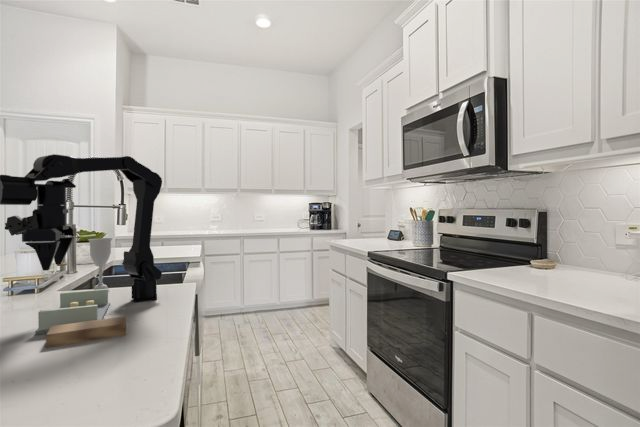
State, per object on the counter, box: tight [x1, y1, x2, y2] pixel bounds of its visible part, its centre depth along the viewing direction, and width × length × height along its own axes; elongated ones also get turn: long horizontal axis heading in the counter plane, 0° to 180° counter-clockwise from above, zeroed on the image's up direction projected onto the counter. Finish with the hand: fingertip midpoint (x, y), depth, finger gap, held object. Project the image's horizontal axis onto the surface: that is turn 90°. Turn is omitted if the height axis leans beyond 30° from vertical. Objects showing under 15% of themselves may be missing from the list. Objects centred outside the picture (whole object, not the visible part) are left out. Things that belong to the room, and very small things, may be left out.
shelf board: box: [45, 315, 127, 349], centre depth 74 cm, size 14×6×3 cm, turn 120°
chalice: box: [87, 237, 113, 293], centre depth 114 cm, size 7×7×18 cm
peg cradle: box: [34, 288, 111, 336], centre depth 86 cm, size 12×20×5 cm, turn 26°
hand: (52, 267), depth 85 cm, fingers open, 9 cm apart
